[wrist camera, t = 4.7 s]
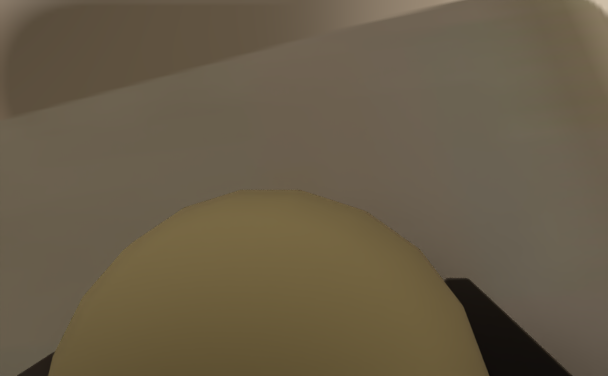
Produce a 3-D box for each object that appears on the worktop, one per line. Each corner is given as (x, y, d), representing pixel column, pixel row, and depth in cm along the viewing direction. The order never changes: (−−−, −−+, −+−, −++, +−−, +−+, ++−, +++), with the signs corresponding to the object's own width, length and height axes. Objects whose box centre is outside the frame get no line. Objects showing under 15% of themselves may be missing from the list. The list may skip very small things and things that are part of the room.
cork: (252, 276, 15) (-24, 160, 5) (423, 254, 15) (493, 63, 4) (262, 471, 13) (-160, 903, 3) (461, 460, 12) (772, 1027, 2)
